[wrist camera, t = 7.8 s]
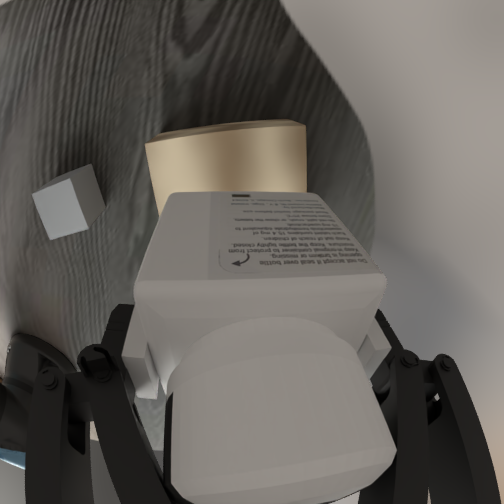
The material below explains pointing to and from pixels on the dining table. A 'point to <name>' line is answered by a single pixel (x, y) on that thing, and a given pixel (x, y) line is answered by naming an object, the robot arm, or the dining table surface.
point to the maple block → (229, 158)
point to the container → (262, 349)
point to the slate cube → (69, 202)
